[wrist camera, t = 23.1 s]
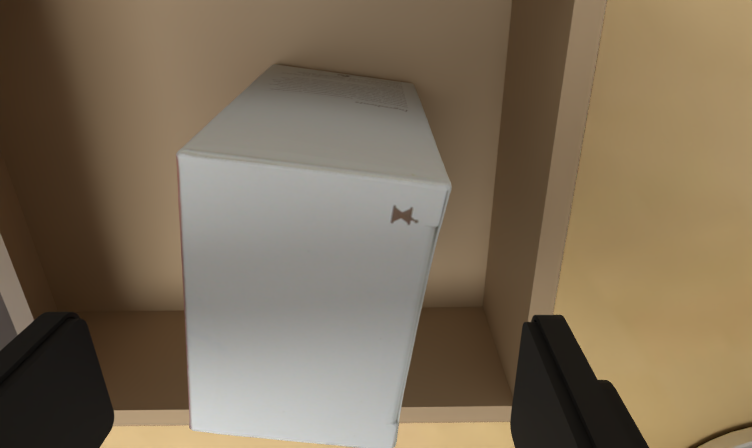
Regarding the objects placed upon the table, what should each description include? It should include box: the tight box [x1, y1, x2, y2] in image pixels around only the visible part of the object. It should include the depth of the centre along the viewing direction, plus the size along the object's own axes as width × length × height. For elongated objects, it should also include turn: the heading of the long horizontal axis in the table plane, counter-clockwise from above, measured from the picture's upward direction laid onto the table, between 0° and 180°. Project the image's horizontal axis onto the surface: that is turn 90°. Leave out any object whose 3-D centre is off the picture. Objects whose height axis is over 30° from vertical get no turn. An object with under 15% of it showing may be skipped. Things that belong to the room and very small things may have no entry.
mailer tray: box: [0, 0, 607, 426], centre depth 18 cm, size 22×16×7 cm
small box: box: [176, 64, 452, 448], centre depth 16 cm, size 8×6×10 cm
